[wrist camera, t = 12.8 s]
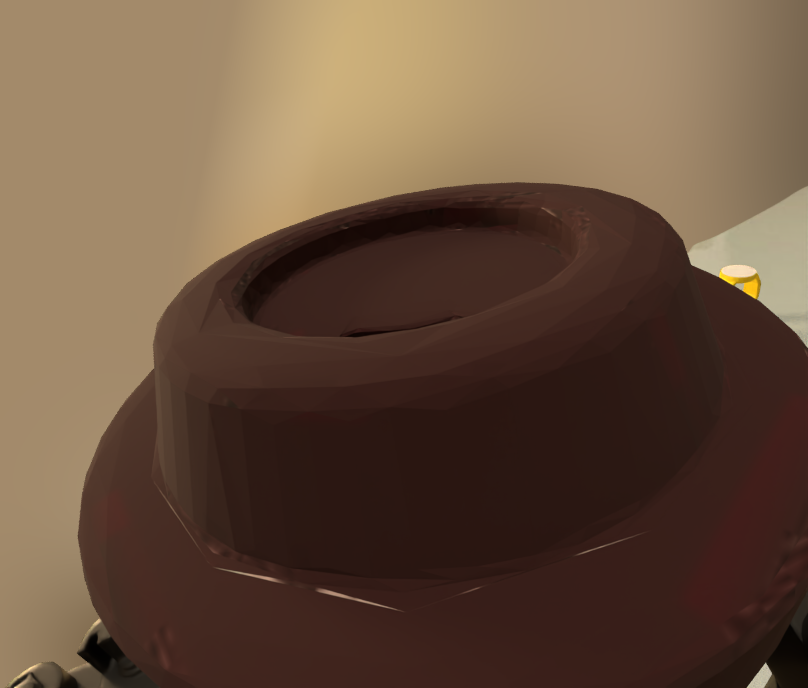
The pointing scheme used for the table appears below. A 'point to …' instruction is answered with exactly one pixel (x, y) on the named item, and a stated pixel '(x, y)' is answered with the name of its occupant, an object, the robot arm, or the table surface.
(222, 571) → the coffee cup
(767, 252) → the table surface
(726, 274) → the watch
